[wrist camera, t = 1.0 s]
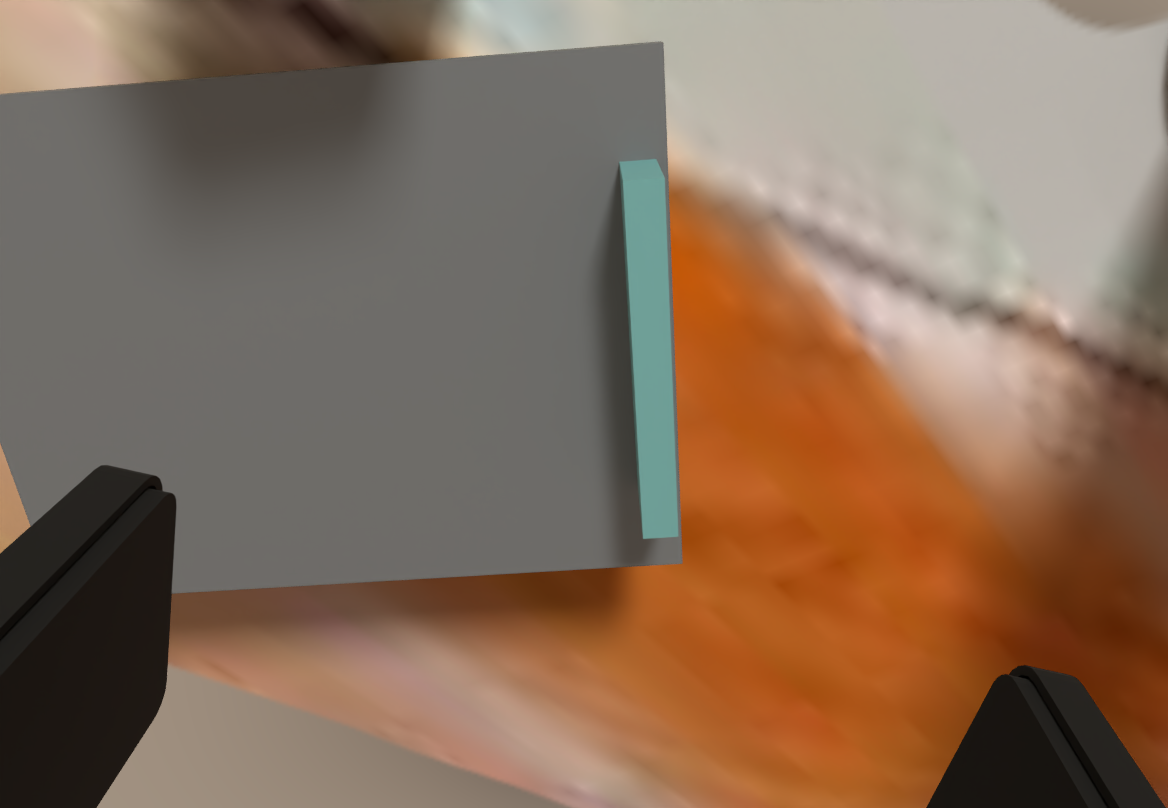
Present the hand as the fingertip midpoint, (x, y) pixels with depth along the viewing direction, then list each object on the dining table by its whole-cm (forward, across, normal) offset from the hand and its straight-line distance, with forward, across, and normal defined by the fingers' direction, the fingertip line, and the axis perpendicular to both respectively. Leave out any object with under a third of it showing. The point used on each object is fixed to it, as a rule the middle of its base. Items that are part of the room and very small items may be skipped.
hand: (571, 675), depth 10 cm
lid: (+18, +7, +5) cm, 20 cm away
